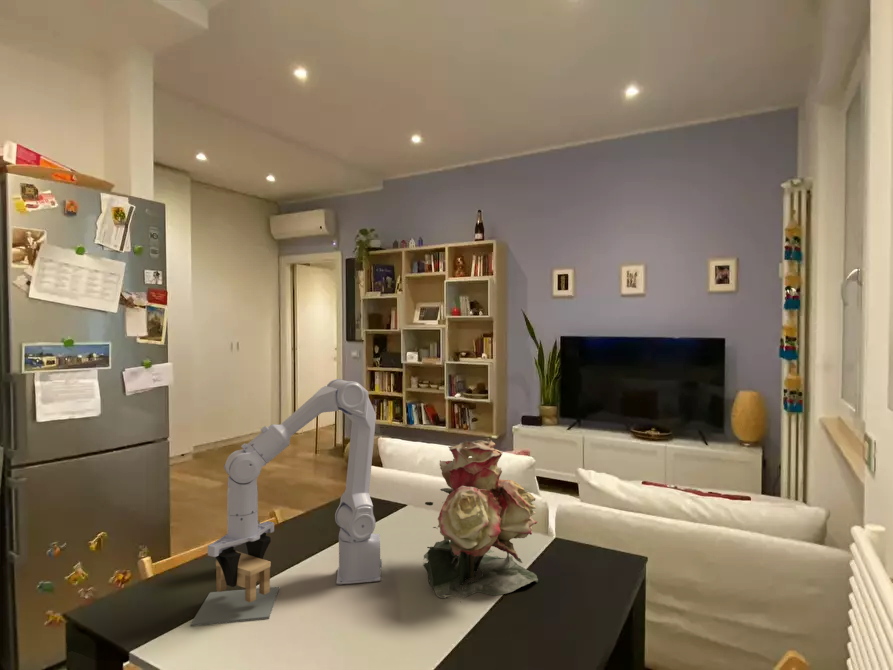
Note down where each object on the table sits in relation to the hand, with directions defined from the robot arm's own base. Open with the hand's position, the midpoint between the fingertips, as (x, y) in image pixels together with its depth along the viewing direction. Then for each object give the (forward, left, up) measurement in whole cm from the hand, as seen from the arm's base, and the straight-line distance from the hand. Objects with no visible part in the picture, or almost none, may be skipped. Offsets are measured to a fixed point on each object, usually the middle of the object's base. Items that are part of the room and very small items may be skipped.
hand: (243, 579), depth 102 cm
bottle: (+3, -17, -6) cm, 18 cm away
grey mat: (+1, 0, -5) cm, 5 cm away
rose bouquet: (-50, -6, -6) cm, 51 cm away
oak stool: (0, 0, -2) cm, 2 cm away
